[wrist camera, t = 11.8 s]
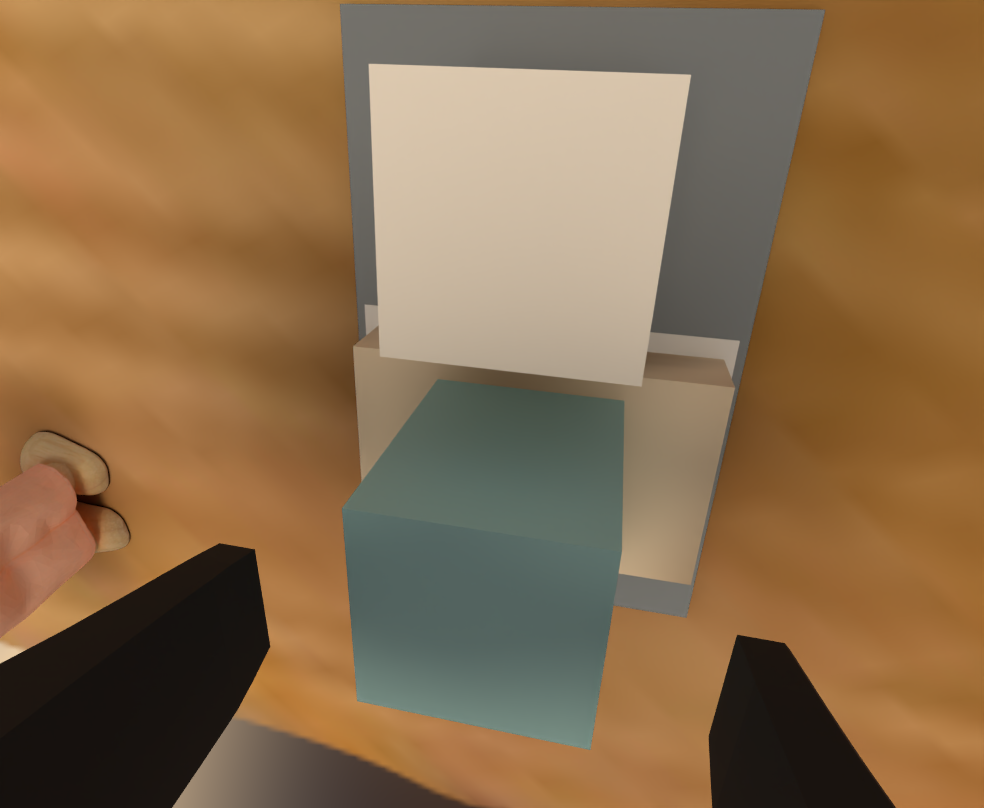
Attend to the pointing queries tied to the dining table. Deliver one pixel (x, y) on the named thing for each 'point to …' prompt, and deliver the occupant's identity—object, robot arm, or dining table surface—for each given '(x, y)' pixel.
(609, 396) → the beech brick
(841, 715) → the dining table surface
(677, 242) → the slate mat
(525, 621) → the teal block
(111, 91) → the dining table surface
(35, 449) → the grandmother figurine
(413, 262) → the cream block
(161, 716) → the robot arm
